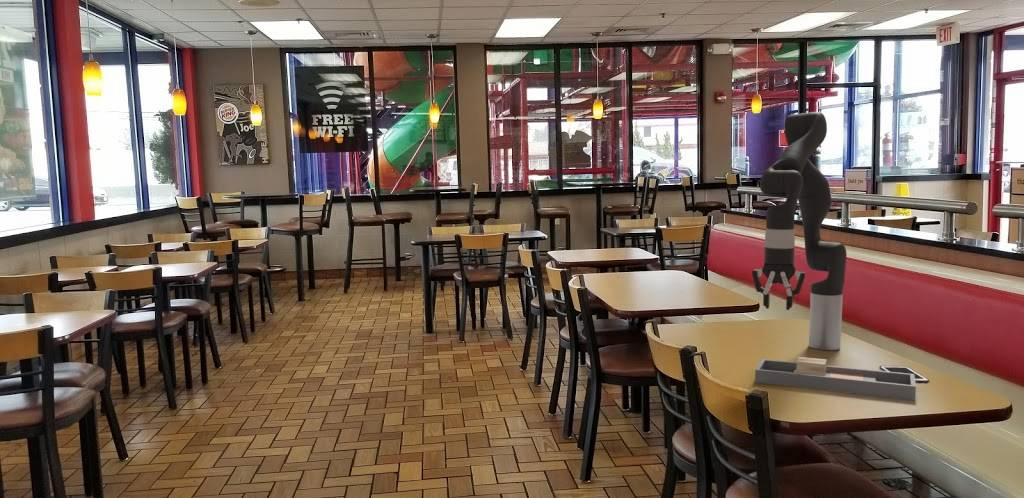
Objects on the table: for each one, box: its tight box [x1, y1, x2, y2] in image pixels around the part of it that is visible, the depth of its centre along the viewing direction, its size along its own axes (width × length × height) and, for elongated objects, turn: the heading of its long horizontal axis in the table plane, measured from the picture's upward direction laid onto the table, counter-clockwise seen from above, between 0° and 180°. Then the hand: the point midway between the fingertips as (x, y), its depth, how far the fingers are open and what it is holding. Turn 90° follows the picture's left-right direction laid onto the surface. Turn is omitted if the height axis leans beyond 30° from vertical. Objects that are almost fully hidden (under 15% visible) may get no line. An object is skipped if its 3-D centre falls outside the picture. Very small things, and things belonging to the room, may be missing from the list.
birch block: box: [796, 356, 828, 376], centre depth 206 cm, size 5×7×4 cm
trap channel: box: [754, 358, 917, 401], centre depth 204 cm, size 12×38×4 cm, turn 64°
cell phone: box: [879, 365, 930, 384], centre depth 213 cm, size 8×15×1 cm, turn 176°
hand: (777, 308), depth 209 cm, fingers open, 4 cm apart
